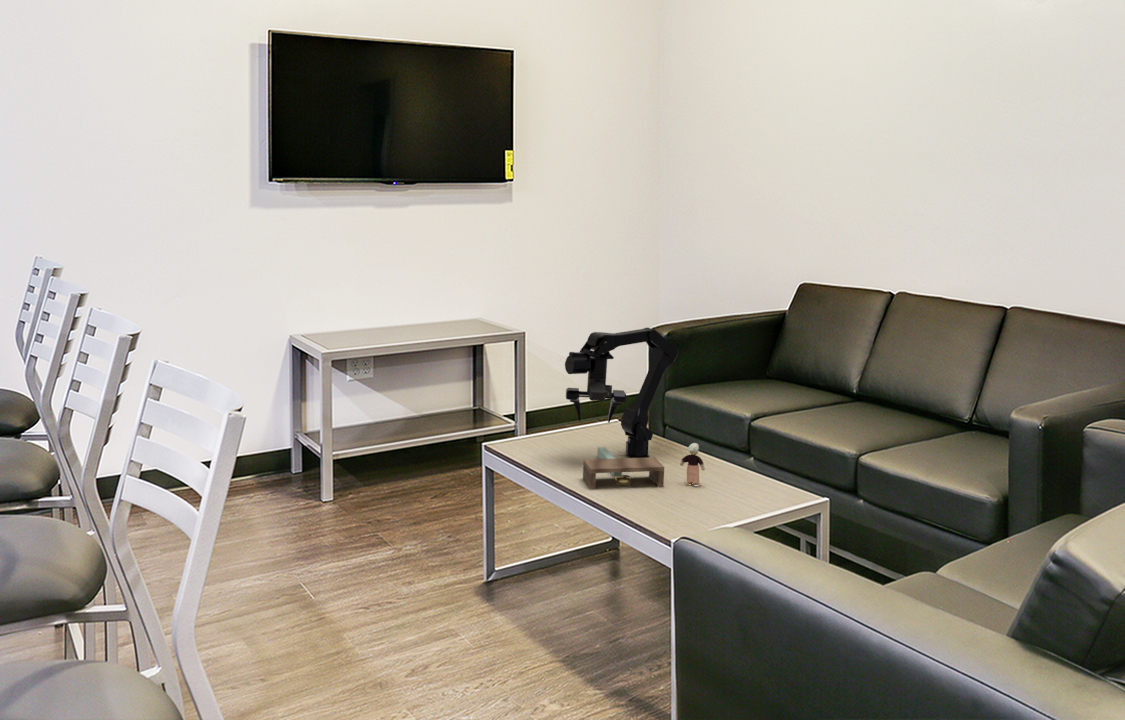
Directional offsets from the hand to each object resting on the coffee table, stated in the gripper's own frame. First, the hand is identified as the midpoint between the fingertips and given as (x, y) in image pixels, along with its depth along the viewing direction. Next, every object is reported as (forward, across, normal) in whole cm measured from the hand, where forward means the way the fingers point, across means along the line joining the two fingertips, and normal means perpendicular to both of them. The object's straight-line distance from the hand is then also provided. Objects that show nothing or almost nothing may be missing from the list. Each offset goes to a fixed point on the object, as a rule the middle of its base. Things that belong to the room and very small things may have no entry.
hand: (594, 421), depth 298 cm
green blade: (+13, +5, -4) cm, 15 cm away
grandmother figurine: (+13, +28, -22) cm, 38 cm away
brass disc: (+13, +8, -21) cm, 26 cm away
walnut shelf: (+13, +8, -21) cm, 26 cm away
